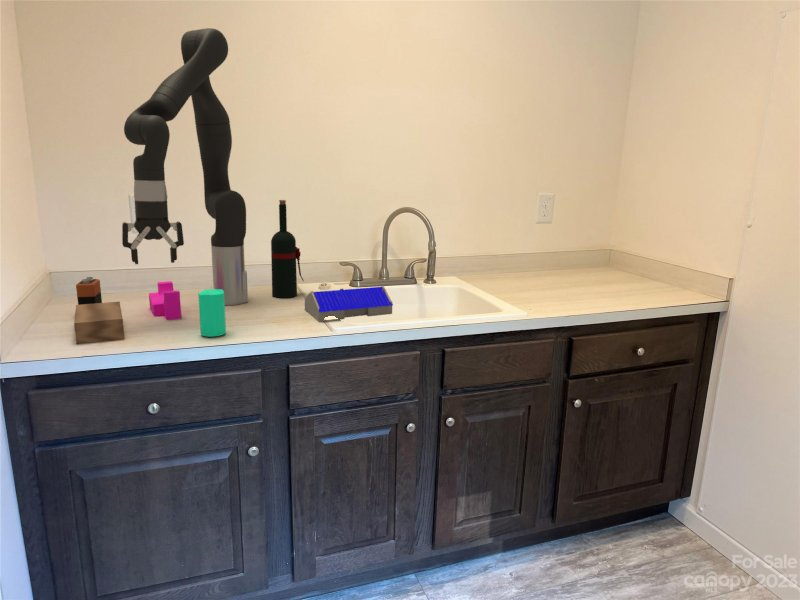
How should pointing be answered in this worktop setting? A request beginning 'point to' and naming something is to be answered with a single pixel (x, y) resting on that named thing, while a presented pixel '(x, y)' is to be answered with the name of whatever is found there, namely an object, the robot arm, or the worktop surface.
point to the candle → (212, 312)
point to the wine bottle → (284, 259)
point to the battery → (89, 291)
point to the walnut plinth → (98, 322)
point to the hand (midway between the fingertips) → (154, 263)
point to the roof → (348, 303)
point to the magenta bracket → (165, 301)
